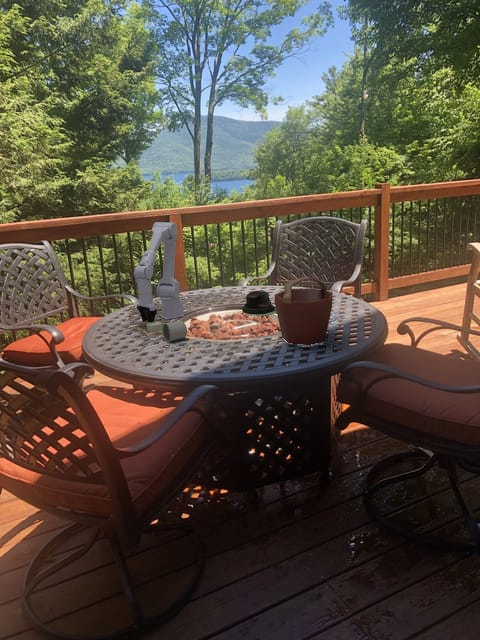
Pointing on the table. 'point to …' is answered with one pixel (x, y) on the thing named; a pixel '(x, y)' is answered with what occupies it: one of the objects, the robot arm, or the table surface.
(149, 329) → the sage block
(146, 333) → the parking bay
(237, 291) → the table surface
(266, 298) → the dark fedora hat
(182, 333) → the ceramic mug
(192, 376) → the table surface
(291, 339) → the bucket
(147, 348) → the table surface
